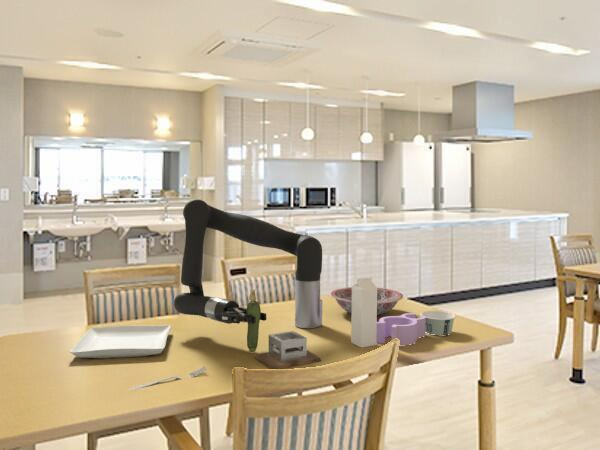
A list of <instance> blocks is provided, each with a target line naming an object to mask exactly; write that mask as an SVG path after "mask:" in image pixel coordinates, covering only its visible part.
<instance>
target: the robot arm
mask: <svg viewBox="0 0 600 450" xmlns="http://www.w3.org/2000/svg"><path fill="white" fill-rule="evenodd" d="M182 215H183V218H184V223H185V226H184V227H185V241H184V242H185V243H184V249H183V256H182V263H181V275H180V276H181V277H180V282H181V284H182V286H186V287H188V289H189V292H181V293H178V294H177V295H176V296H175V298H174V300H173V307H174V309H175V311H177V312H178V314H182V315H187V316H188V315H189V316H199V317H203V318H207V319H210V320H213V321H215V322H220V323H224V324H228V325H231V324H237V325H239V324H240V323H243V324H245V323H247V324H248V323H251V324H255V323H256V317H255V316H251V315H247V307H244V306H240V305H239V303H238V302H237V301H235V300H233V299H228V298H222V297H214V296H208V295H205V293H204V287H203V282H202V279H203V277H202V276H203V267H204V266H203V264H204V259H203V258H204V243H205V235H206V234H205V233H206V230H207V229H210V230H215V231H218V232H220V233H221V232H222V233H223V234H225V235H228V236H229V237H232V238H234V239H235V240H236V239H237V240H239V241H241V242H244V243H248V244H250V245H255V246H257V247H262V248H270V249H276V250H281V251H284V252H286V253H288V254H291V255H293V256H295V257H296V259H297V260H296V271H295V273H294V275H295V276H294V278H295V279H294V283H295V284H294V286H295V287H294V288H295V291H294V298H295V299H294V325H295V327H297V328H300V329H301V328H302V329H314V328H319V327H320V326H323V300H322V299H321V274H322V269H323V247H322V244H321V242H320V241H319V240H318V239H317V238H316V237H313V236H311V235H307V234H301V233H298V232H297V233H296V232H292V231H287V230H286V229H283V228H280V227H278V226H277V225H274V224H273V223H270V222H268V221H265V220H262V219H258V218H256V217H252V216H249V215H245V214H240V213H234V212H228V211H224V210H222V209H218V208H217V207H214V206H212V205H210V204H208V203H207V202H206V201H204V200H202V199H198V198H197V199H196V198H194V199H191V200H190V201H188V202H187V203H186V204H185V205H184V207H183V210H182ZM266 320H267V313H265V312H261V313H260V321H263V322H264V321H266Z"/></svg>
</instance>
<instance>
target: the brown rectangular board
mask: <svg viewBox="0 0 600 450" xmlns="http://www.w3.org/2000/svg"><path fill="white" fill-rule="evenodd" d="M300 347H301V346H300ZM286 353H287V352H286ZM254 358H255V360H257V361H259V362H260V363H261V364H263V365H264V366H266V367H267V368H268V369H270V370H271V369H276V370H280V369H279V368H281V369H285V368H286V369H287V368H289V367H296V366H300V365H305V364H310V363H315V362H316V363H317V362H321V359H322V358H321V357H320V356H318V355H317V354H315V353H314V352H311V351H310V350H308V349H307V358H303V359H298V360H292V361H287V362H282V363H281V362H280V361H278V360H277V359H275V358H274V357H272V356H271V355H269V351H266V352H261V353H255V354H254Z"/></svg>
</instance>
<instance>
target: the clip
mask: <svg viewBox="0 0 600 450" xmlns="http://www.w3.org/2000/svg"><path fill="white" fill-rule="evenodd" d="M425 326H426V316H424V315H421V314H420V317H417V318H416V313H414V312H413V313H412V312H410V313H409V312H408V313H407V312H406V313H402V314H401V315H389V316H388V315H387V316H383V317H380V318H379V320H378V321H377V331H376V344H384V343H386V338H389V337H388V336H391V341H392V340H393V339H395V338H398V339H399V340H400V345H409V344H414V343H416V344H417V342H416V341H417V340H418V339H417V338H419V337H423V336H425V337H426V333H425ZM385 337H386V338H385ZM414 345H415V344H414Z"/></svg>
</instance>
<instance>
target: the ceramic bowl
mask: <svg viewBox="0 0 600 450" xmlns="http://www.w3.org/2000/svg"><path fill="white" fill-rule="evenodd" d="M330 296H331V298H333V299H335V301H336V303H337V304H338V305H339V307H341V309H343V310H344V311H346V312H348V313H350V314H352V286H350V287H349V286H348V287H343V288H338V289H335V290H332V291H331V292H330ZM403 298H404V294H402V292H399V291H397V290H394V289H389V288H385V287H384V288H383V287H377V316H378V315H383V314H386V313H388V312H390V311H391V310H392V309H394V308H395V306H396V305H397V304H398V302H399V301H400V300H403Z"/></svg>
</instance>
